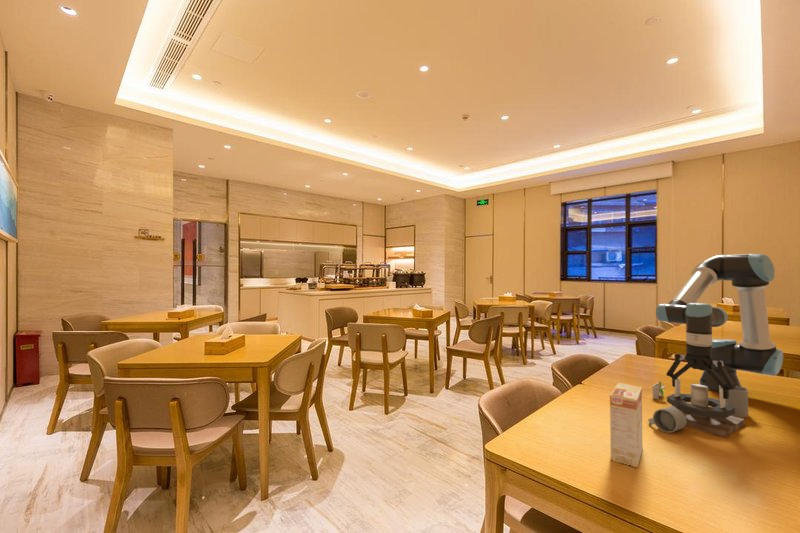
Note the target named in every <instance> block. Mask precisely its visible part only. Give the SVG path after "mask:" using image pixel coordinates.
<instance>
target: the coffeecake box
mask: <svg viewBox="0 0 800 533" xmlns="http://www.w3.org/2000/svg"><path fill="white" fill-rule="evenodd" d="M642 391H643V387H642V386H637V385H632V384H628V383H622V382H617V383H616V385H615V386H614V388H613V389H612V391H611V393H610V394H609V418H610V420H609V421H610V422H609V428H610V429H609V430H610V432H609V433H610V461H611V460H615V461H617V462H616V463H618V462H621V463H620V464H622V463H624V464H623V465H626V464H627V465H626V466H629V465H631V466H630V467H632V466H634V467H633V468H635V467H637V468H638V466H639V463H640V461H641V456H642V452H643V448H644V447H643V446H644V445H643V392H642ZM615 461H614V462H615Z"/></svg>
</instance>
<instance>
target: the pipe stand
mask: <svg viewBox="0 0 800 533" xmlns="http://www.w3.org/2000/svg"><path fill="white" fill-rule="evenodd" d="M690 394H691V402H690V404H694V405H698V406H703V407H709V406H708V397H709V389H708V387H707V386H704V385H700V383H698V384H697V383H691V384H690ZM666 408H675V407H674V406H672V405H669V406H668V407H666ZM676 409H677V408H676ZM678 410H679V409H678ZM680 411H682V412H683V413H684V415H685V416H686V419H687V423H686V425H685V427H687V428H691V429H693V430H697V431H700V432H703V433H707V434H710V435H713V436H716V437H720V438H722V439H725V438H727V437H728V436H729V435H731V434H733V433H735V431H738V430H739V429H740V428H742V427H743V426H745V423H746V422H745V418H743V417H736V416H729V417H728V418H724V417H711V416H701V415H697V414H694V413H690V412H687V411H683V410H680Z"/></svg>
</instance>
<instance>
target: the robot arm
mask: <svg viewBox="0 0 800 533" xmlns="http://www.w3.org/2000/svg"><path fill="white" fill-rule="evenodd" d="M775 272H776V271H775V266H774V263H773V261H772V259H771V258H770V257H769V256H768V255H766V254H764V253H737V254H719V255H718V254H717V255H715V256H710V258H707V259H705V260H703V261H702V262H700V263H699V264H697V265H696V266H695V267H694V268H693V269H692V271H691V273H690V276H689V278H688V279H687V281H686V282H685V283H684V284H683V285H682V286H681V288H680V289H679V290H678V291H677V293H676V294H675V295H674V296H673V297H672V299H671V300H670V301H669V302H668V303H660V304H658V305H657V306H656V307H655V315H656V318H657V320H658V321H660V322H664V323H665V322H667V323H668V324H669V323H673V324H674V323H675V324H683V325H685V334H686V335H685V340H686V341H685V342H686V344H685V348H686V349H685V350H686V351H685V352H686V353H685V355H684V354H682V353H678V354H675V359H674V361H673V363H672V364H671V366H670V367H669V369H668V371H667V372H666V374H665V375H666V376H668V377H670V378H671V385H672V387H673V388H674V394H675V396H676V397H678V396H680V393H681V378H679V377H681V376H682V375H683V374H684V373H685V372H687V371H688V370H689V369H690V368H692V369H693V370H700V371H703V372H702V373H701V376H700V377H699V378H700V379H699V385H704V386H707V387H708V390H710V391H714V392H719V385H720V386H721V387H722V389H720V408H724V407H725V399H728V398H729V390H733V389H735V388H736V386H740V387H743V386H742V384H741V382H740V379H739V376H738V374H737V370H739V371H742V372H743V371H745V372H749V373H753V374H754V373H755V374H759V375H766V376H767V375H768V376H776V375H778V374H779V372H780V371H781V368H782V366H783V363H784V362H783V361H784V353H783V350H782V349H779V348H777V345H776V343H775V342H773V341H772V340H771V336H770V335H771V334H770V327H769V326H770V325H769V317H768V316H769V315H768V307H767V299H766V290H765V288H766V287H768V286H769V285H770V282H772V281H773V280H774V279H775ZM719 281H731V285H732V287H734V288H736V289H737V290H736V291H737V297H738V298H737V299H738V307H739V316H740V322H741V330H742V332H741V333H742V339H741V340H740V341H739V343H737V340H735V339H729V338H728V339H727V338H726V339H723V338H722V339H721V338H718V339H717V338H715V339H714V338H713V328H717V327H718V328H719V327H721V326H723V325H725V324H726V323H727V321H728V318H729V316H728V314H727V312H726V311H725V310H724V309H723V308H721V307H717V306H712V304H710V303H703V302H698V301H699V299H701V297H702V296H703V294H704V293H705V292H706V290H708V288H709V287H710V286H711V285H714V284H715V283H716V282H719ZM684 360H685V361H686V364H684V366H683V367H681V368H680V369H679V370H677V368H678V367H679V366H680V364H681V363H682V361H684ZM676 371H677V372H676Z"/></svg>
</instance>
